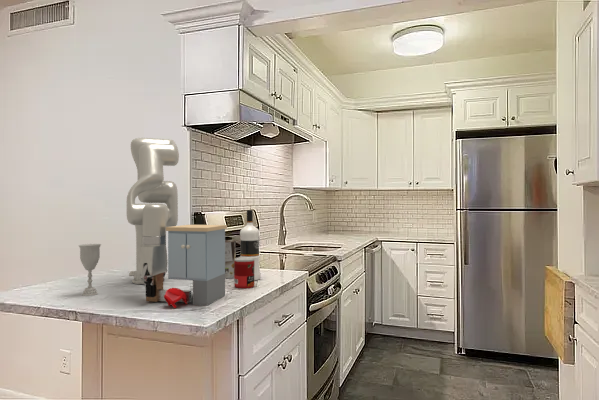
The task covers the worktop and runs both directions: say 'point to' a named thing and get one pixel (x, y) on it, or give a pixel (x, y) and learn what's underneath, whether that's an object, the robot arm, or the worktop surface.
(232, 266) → the coffee box
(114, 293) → the worktop surface
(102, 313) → the worktop surface
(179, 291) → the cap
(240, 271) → the canned food
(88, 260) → the chalice
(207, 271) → the cabinet
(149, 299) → the blade tool
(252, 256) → the vodka
